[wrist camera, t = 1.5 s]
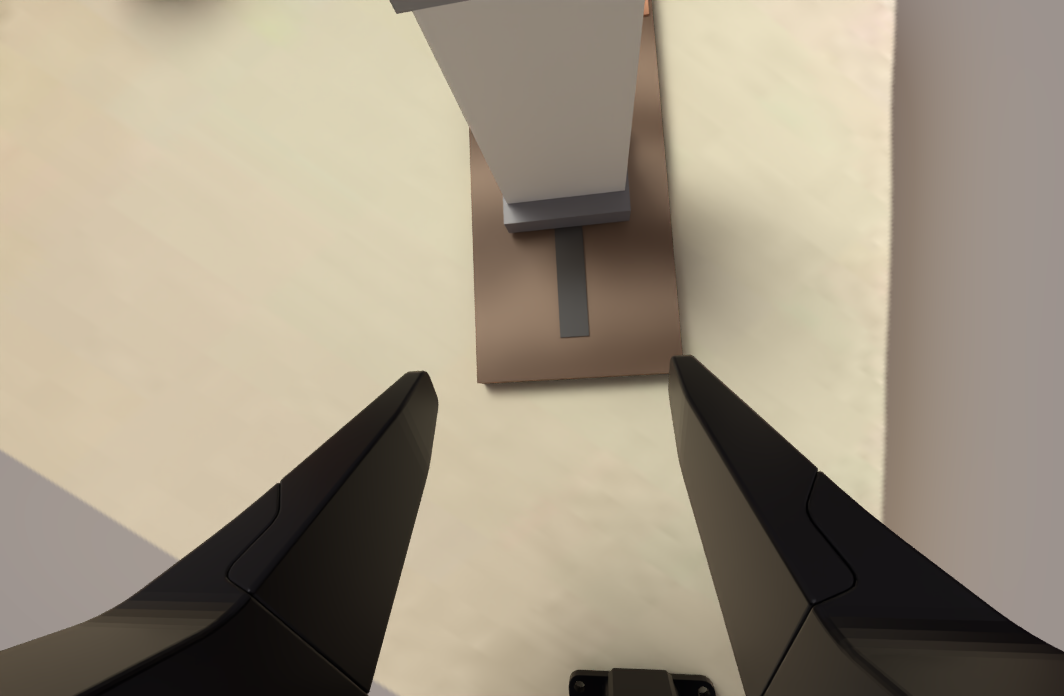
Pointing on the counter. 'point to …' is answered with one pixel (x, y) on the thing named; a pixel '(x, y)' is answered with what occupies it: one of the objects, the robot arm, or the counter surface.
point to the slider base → (581, 270)
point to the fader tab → (544, 99)
